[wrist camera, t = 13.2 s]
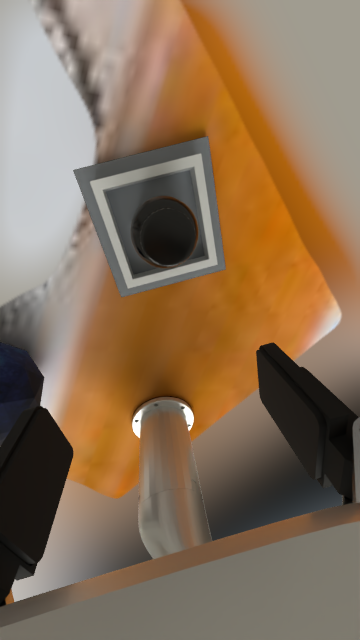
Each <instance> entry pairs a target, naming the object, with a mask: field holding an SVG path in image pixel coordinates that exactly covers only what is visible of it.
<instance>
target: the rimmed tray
mask: <svg viewBox="0 0 360 640" xmlns="http://www.w3.org/2000/svg"><path fill="white" fill-rule="evenodd" d="M73 171H74V174H75V176H76V179H77V182H78V184H79V187H80V189H81V192H82V195H83V198H84V200H85V203H86V205H87V208H88V211H89V213H90V216H91V219H92V221H93V224H94V227H95V229H96V232H97V234H98V237H99V240H100V242H101V245H102V248H103V250H104V253H105V256H106V258H107V261H108V263H109V266H110V269H111V271H112V274H113V277H114V279H115V282H116V285H117V287H118V290H119V293H120V295H121V297H125V296H128V295H132V294H136V293H139V292H143V291H147V290H151V289H154V288H158V287H162V286H166V285H169V284H173V283H177V282H180V281H184V280H188V279H192V278H195V277H199V276H203V275H207V274H210V273H214V272H218V271H221V270H225V269H226V268H225V260H224V253H223V245H222V238H221V230H220V223H219V215H218V207H217V200H216V192H215V185H214V177H213V170H212V162H211V154H210V147H209V139H208V136H207V137H203V138H199V139H195V140H191V141H187V142H183V143H179V144H175V145H171V146H167V147H163V148H159V149H155V150H151V151H147V152H143V153H139V154H135V155H131V156H127V157H123V158H120V159H116V160H112V161H108V162H104V163H100V164H96V165H92V166H88V167H84V168H80V169H76V170H73ZM156 196H171V197H174V198H177V199H179V200H181V201H182V202H184V203H185V204H186V205H187V206H188V207H189V208H190V209H191V211H192V212H193V214H194V216H195V218H196V221H197V224H198V241H197V245H196V247H195V250H194V251H193V253H192V255H191V256H190V257H189V258H188V259H187V260H186V261H185V262H184V263H182V264H180V265H178V266H176V267H173V268H157V267H154V266H152V265H150V264H148V263H146V262H145V261H144V260H143V259H141V257H140V256H139V255H138V254H137V252H136V251H135V249H134V247H133V244H132V241H131V235H130V228H131V222H132V218H133V216H134V214H135V212H136V210H137V209H138V208H139V206H140V205H141V204H142V203H144V202H145V201H147V200H148V199H150V198H153V197H156Z"/></svg>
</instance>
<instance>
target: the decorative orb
mask: <svg viewBox="0 0 360 640" xmlns="http://www.w3.org/2000/svg"><path fill="white" fill-rule="evenodd" d="M43 382H44V376H43V375H42V373H41V372H40V370H39V369H38V367H37V366H36V364H35V363H34V361H33V360H32V358H31V357H30V355H29V354H28V352H27V351H25V350H22V349H19V348H17V347H14V346H11V345H8V344H5V343H2V342H0V446H1V444H2V443H3V441H4V440H5V438H6V437H7V435H8V433H9V432H10V430H11V429H12V427H13V426H14V424H15V423H16V421H17V419H18V418H19V416H20V415H21V413H22V412H23V411H24V410H26V409H29V408H33V407H36V406H40V402H41V396H42V389H43Z"/></svg>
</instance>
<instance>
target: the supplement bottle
mask: <svg viewBox="0 0 360 640" xmlns="http://www.w3.org/2000/svg"><path fill="white" fill-rule="evenodd" d="M130 235H131V241H132V244H133V247H134V249H135V251H136V252H137V254H138V255H139V256H140V257H141V259H143V260H144V261H145V262H146V263H148V264H150V265H152V266H154V267H157V268H173V267H176V266H178V265H180V264H182V263H184V262H185V261H186V260H187V259H188V258H189V257H190V256H191V255H192V253H193V251H194V250H195V247H196V245H197V241H198V224H197V221H196V218H195V216H194V214H193V212H192V211H191V209H190V208H189V207H188V206H187V205H186V204H185V203H184V202H182V201H181V200H179V199H177V198H174V197H171V196H156V197H153V198H150V199H148V200H147V201H145V202H144V203H142V204H141V205H140V206H139V208H138V209H137V210H136V212H135V214H134V216H133V218H132V222H131V228H130Z"/></svg>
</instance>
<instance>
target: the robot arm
mask: <svg viewBox="0 0 360 640" xmlns="http://www.w3.org/2000/svg"><path fill="white" fill-rule="evenodd" d="M256 356H257V368H258V380H259V392H260V398H261V401H262V403H263V404H264V406H265V407H266V409H267V410H268V412H269V414H270V415H271V417H272V418H273V420H274V421H275V423H276V424H277V426H278V427H279V429H280V431H281V432H282V434H283V435H284V437H285V438H286V440H287V441H288V443H289V445H290V446H291V448H292V449H293V451H294V452H295V454H296V456H297V457H298V459H299V460H300V462H301V463H302V465H303V466H304V468H305V469H306V471H307V472H308V474H309V475H310V477H311V478H312V479H317V480H318V481H319V483H320V484H321V486H322V487H323V488H325V487H329V486H332V485H333V486H334V487H335V489H336V490H337V492H338V493H339V494H341V495H342V506H337V507H332V508H327V509H323V510H320V511H316V512H312V513H309V514H305V515H301V516H298V517H294V518H290V519H287V520H283V521H279V522H276V523H273V524H269V525H266V526H262V527H259V528H256V529H253V530H249V531H246V532H242V533H239V534H236V535H232V536H229V537H226V538H222V539H219V540H216V541H212V538H211V534H210V530H209V526H208V521H207V517H206V512H205V508H204V502H203V498H202V493H201V488H200V483H199V478H198V473H197V468H196V463H195V458H194V454H193V449H192V444H191V439H190V434H189V430H190V428H191V427H192V424H193V421H194V416H193V412H192V409H191V407H190V406H189V405H188V404H187V403H186V402H184V401H183V400H181V399H178V398H174V397H159V398H155V399H152V400H149V401H147V402H146V403H144V404H142V405H141V406H140V407H139V408H138V409H137V410H136V411H135V413H134V415H133V419H132V428H133V431H134V433H135V434H136V435H137V436H138V437H139V438H140V455H139V512H138V514H139V515H138V516H139V517H138V523H139V531H140V535H141V539H142V541H143V543H144V545H145V547H146V549H147V550H148V552H149V553H150V555H151V556H152V557H153V560H149V561H146V562H143V563H140V564H136V565H133V566H130V567H127V568H123V569H120V570H117V571H113V572H110V573H107V574H104V575H100V576H97V577H94V578H91V579H88V580H84V581H81V582H78V583H75V584H71V585H68V586H65V587H62V588H59V589H56V590H52V591H49V592H46V593H42V594H39V595H36V596H33V597H30V598H27V599H24V600H20V601H17V602H14V599H13V595H12V590H11V588H12V585H13V582H14V579H16V580H20V579H24V578H27V577H30V576H33V575H34V573H35V569H36V566H37V563H38V562H39V561H40V560H41V558H42V557H43V554H44V551H45V548H46V544H47V541H48V538H49V534H50V531H51V528H52V524H53V521H54V518H55V514H56V511H57V508H58V504H59V501H60V498H61V495H62V491H63V488H64V485H65V481H66V478H67V475H68V472H69V468H70V465H71V462H72V458H73V448H72V446H71V445H70V443H69V442H68V440H67V439H66V437H65V436H64V434H63V433H62V431H61V430H60V428H59V427H58V425H57V423H56V422H55V420H54V419H53V417H52V416H51V414H50V413H49V411H48V410H47V409H46V408H43V407H41V406H36V407H33V408H29V409H26V410H24V411H23V412H22V413H21V415H20V416H19V418H18V419H17V421H16V423H15V424H14V426H13V427H12V429H11V430H10V432H9V433H8V435H7V437H6V438H5V440H4V441H3V443H2V444H1V446H0V640H360V418H359V417H358V416H357V415H356V414H354V413H353V412H352V411H351V410H350V409H349V408H348V407H347V406H346V405H345V404H344V403H343V402H342V401H340V400H339V399H338V398H337V397H336V396H335V395H334V394H333V393H332V392H330V390H328V389H327V388H326V387H325V386H324V385H323V384H322V383H321V382H320V381H319V380H318V379H317V378H315V377H314V376H313V375H312V374H311V373H310V372H309V371H308V370H307V369H305V368H304V367H299V366H298V365H297V364H296V363H295V362H294V361H293V360H292V359H291V358H289V357H288V356H287V355H286V354H285V353H284V352H283V351H282V350H281V349H280V348H279V347H278V346H277V345H276V344H275V343H269V344H265V345H262V346H260V348H259V350H257V351H256Z"/></svg>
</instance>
